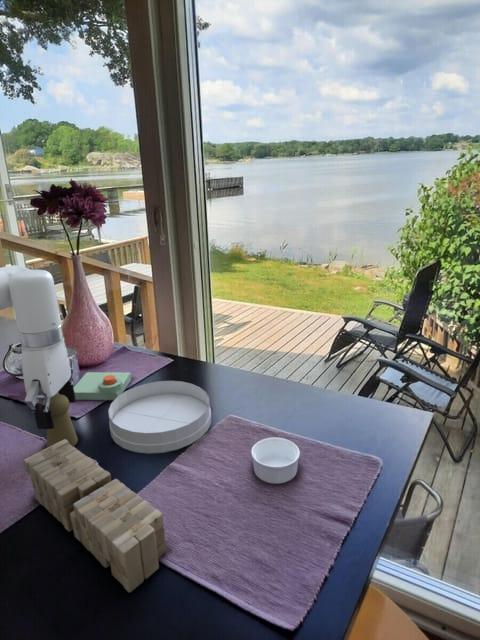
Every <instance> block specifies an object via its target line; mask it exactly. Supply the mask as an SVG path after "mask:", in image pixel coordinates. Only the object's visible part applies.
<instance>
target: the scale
mask: <svg viewBox="0 0 480 640" xmlns="http://www.w3.org/2000/svg"><path fill="white" fill-rule="evenodd" d="M108 375H114V376H115V380H116V383H115V384H113V385H104V380H103V378H104V377H105V376H108ZM131 381H132V372H129V371H128V372H127V371H124V372H123V371H121V372H120V371H119V372H118V371H117V372H116V371H114V372H113V371H111V372H110V371H106V372H105V371H104V372H103V371H102V372H101V371H86V373H84V375H83V376H82V377H81V378H80V380H79V381H78V382H77V383H76V384H75V385H74V386H73V387H74V393H75V398H76V401H77V400H78V401H114V400H115V399H116V398H117V397H118V396H119V395H121V394H122V393H124V392H125V390H126V388H127V387H128V385H129V384H130V382H131Z"/></svg>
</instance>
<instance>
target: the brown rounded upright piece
mask: <svg viewBox="0 0 480 640" xmlns="http://www.w3.org/2000/svg"><path fill="white" fill-rule="evenodd" d="M44 400H45V399H42V402H41V404H42V405H44ZM49 409H51V410H52V415H53V420H54V425H55V427H54V428H53V429H46V446H47V447H46V448H48V447H50V446H52V445H54V444H56V443H58V442H60V441H62V440H64V439H66V440H67V441H68V442H69V444H70V445H71V446H73V447H75V446H76V445H77V443H78V440H79V438H78V436H77V432H76V430H75V427H74V424H73V422H72V419H71V416H70V413H69V409H70V403H69V400H68V398H67V397H66V396H64V395H61V394H59V393H56V394H55V395H54V396H53V397H51V399H50V405H49Z"/></svg>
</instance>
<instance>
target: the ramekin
mask: <svg viewBox="0 0 480 640" xmlns="http://www.w3.org/2000/svg"><path fill="white" fill-rule="evenodd" d="M250 454H251V459H252V462H253V463H252V464H253V471H254V474H255V476H256V477H257V478H258V479H259V480H261V481H263V482H265V483H268V484H274V485H275V484H284V483H286V482H289V481H291V480H293V479H294V478H295V477H296V475H297V472H298V467H299V459H300V456H301V451H300V448H299V446H298V445H297V444H295V443H294V442H293V441H291V440H289V439H287V438H283V437H267V438H263V439H260V440H259V441H257V442H256V443H254V444H253V445H252V448H251V450H250Z"/></svg>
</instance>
